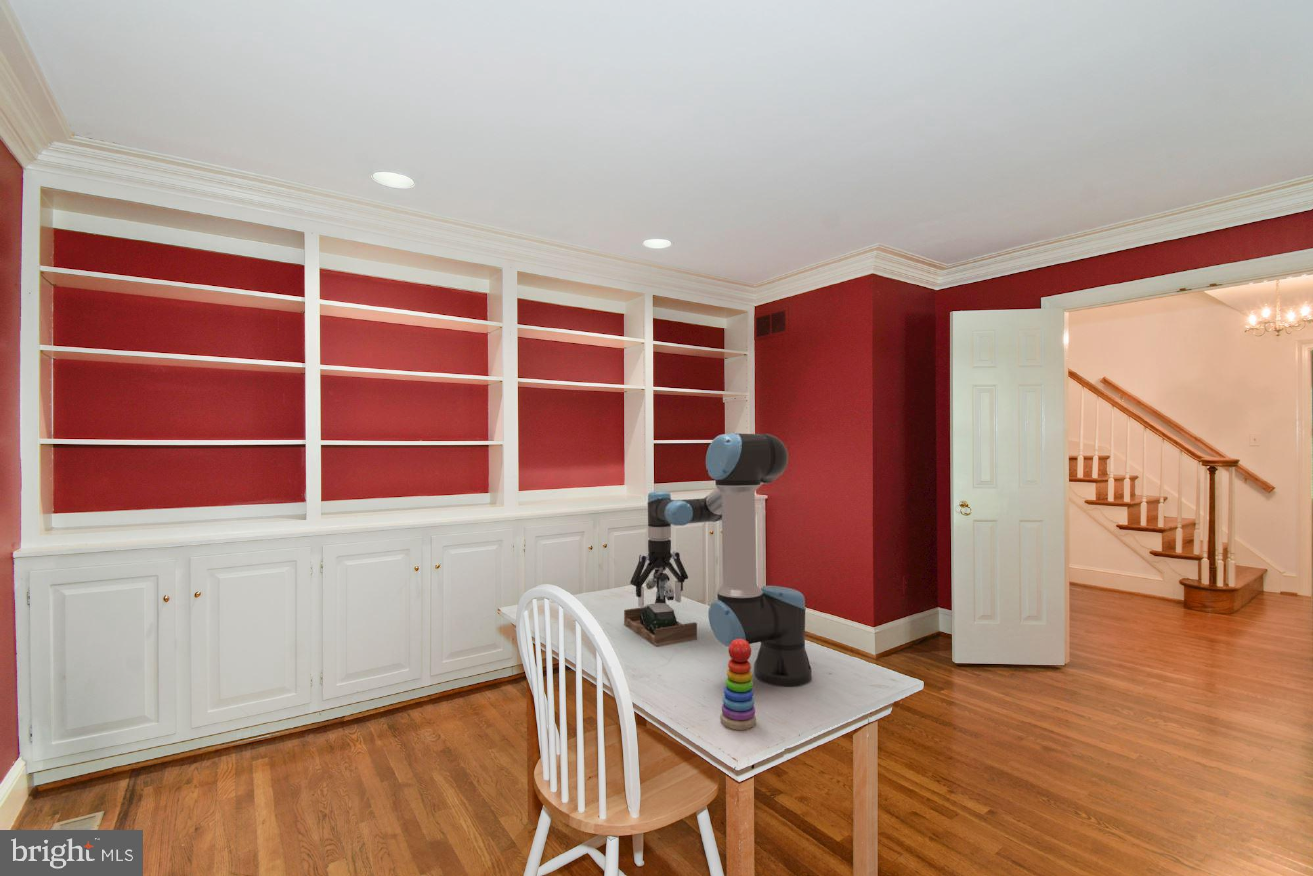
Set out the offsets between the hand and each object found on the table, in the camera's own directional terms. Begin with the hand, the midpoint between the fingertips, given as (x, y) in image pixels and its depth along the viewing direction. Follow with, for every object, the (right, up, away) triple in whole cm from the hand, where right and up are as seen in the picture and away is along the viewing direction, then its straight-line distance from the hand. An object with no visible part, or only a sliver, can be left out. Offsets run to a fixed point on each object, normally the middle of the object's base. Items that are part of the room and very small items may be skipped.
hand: (659, 604), depth 193 cm
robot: (0, -9, +21) cm, 23 cm away
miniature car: (0, -8, +1) cm, 8 cm away
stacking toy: (+17, -10, -60) cm, 64 cm away
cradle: (0, -9, 0) cm, 9 cm away
